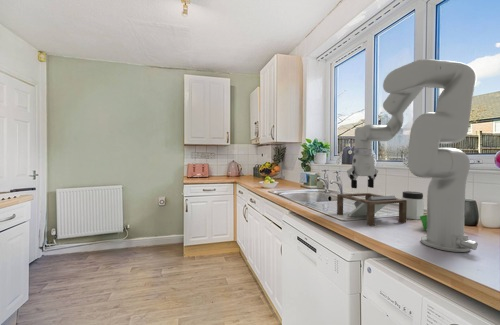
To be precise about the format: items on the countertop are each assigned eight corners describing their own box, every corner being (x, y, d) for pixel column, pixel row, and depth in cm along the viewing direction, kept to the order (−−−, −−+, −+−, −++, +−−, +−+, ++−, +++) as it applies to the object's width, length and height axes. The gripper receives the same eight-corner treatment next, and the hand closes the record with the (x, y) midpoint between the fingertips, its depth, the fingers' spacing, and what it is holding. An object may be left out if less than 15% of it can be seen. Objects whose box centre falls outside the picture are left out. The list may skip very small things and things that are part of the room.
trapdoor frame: (406, 222, 107) (406, 200, 107) (370, 226, 102) (370, 202, 102) (368, 212, 129) (368, 193, 129) (337, 214, 124) (337, 194, 123)
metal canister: (371, 208, 118) (366, 199, 121) (362, 209, 116) (357, 199, 119) (365, 213, 122) (360, 204, 125) (356, 214, 120) (352, 204, 123)
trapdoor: (397, 198, 109) (395, 195, 110) (371, 199, 105) (369, 196, 106) (373, 215, 122) (372, 213, 123) (349, 217, 118) (348, 214, 119)
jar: (426, 220, 112) (427, 194, 112) (406, 219, 114) (407, 193, 113) (417, 215, 121) (417, 191, 121) (399, 215, 122) (399, 191, 122)
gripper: (353, 152, 113) (352, 189, 114) (383, 152, 118) (382, 188, 119) (342, 152, 121) (342, 187, 121) (371, 152, 125) (371, 186, 126)
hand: (362, 187), depth 120 cm, fingers open, 9 cm apart
